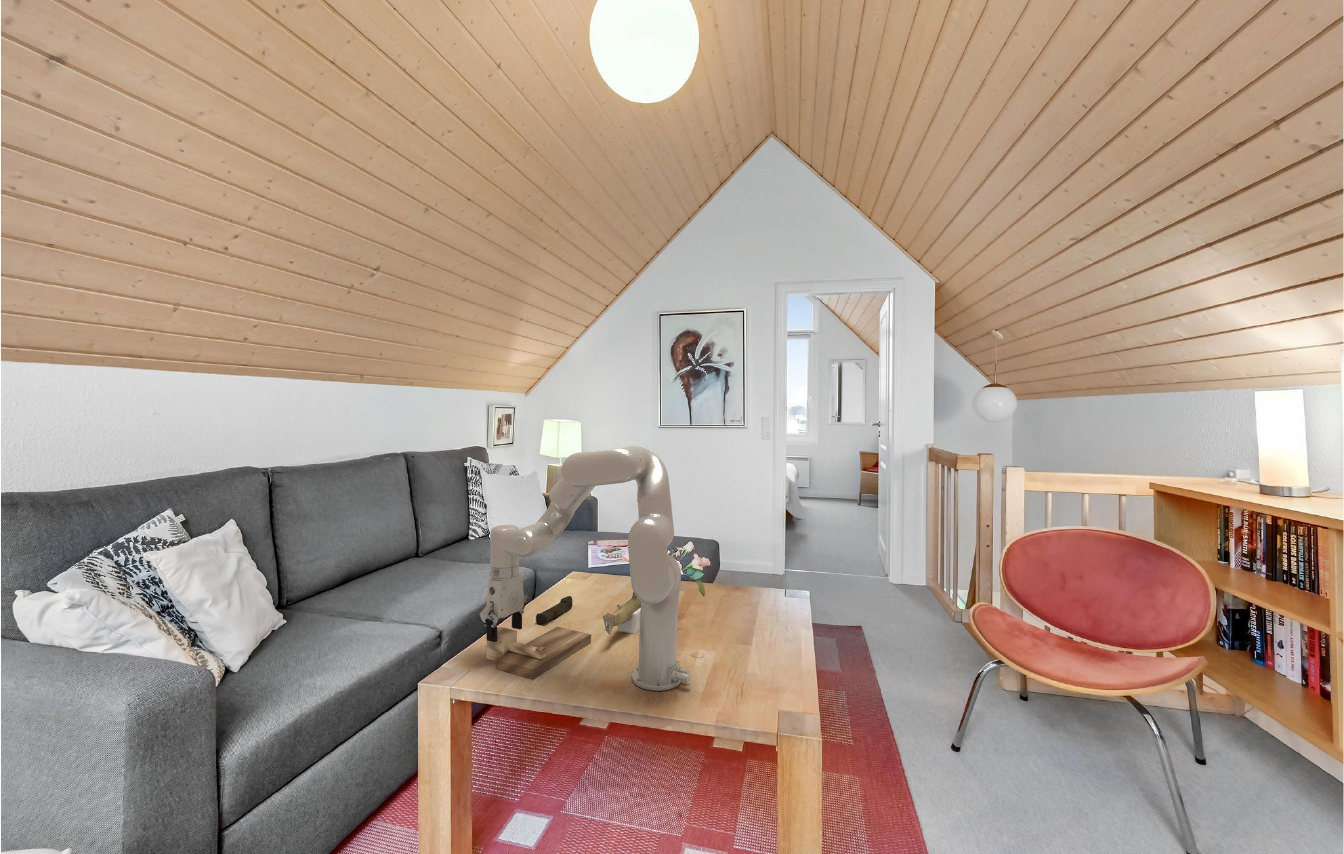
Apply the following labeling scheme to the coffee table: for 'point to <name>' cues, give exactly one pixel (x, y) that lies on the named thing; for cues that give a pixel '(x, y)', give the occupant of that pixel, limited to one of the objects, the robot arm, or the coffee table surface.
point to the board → (557, 649)
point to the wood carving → (625, 617)
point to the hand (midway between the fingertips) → (504, 634)
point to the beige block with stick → (511, 646)
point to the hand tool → (554, 611)
